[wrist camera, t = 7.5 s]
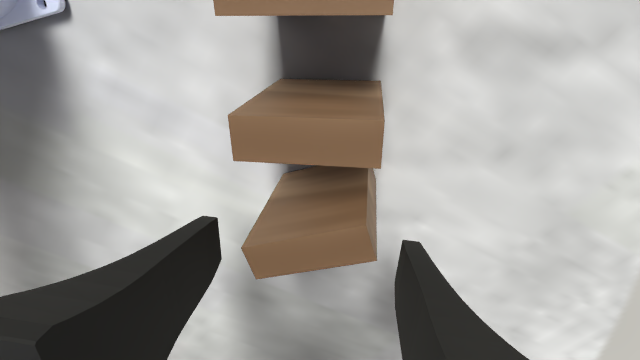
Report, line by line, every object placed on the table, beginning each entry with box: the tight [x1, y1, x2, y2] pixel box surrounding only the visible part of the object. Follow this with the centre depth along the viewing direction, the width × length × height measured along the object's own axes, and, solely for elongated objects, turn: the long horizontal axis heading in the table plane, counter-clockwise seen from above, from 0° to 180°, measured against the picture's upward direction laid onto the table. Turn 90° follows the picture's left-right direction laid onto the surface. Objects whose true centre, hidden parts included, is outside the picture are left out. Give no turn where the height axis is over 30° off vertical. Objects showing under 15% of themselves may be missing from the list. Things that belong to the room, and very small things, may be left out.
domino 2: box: [228, 79, 385, 169], centre depth 14 cm, size 2×5×7 cm, turn 90°
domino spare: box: [241, 165, 377, 279], centre depth 16 cm, size 2×5×7 cm, turn 107°
